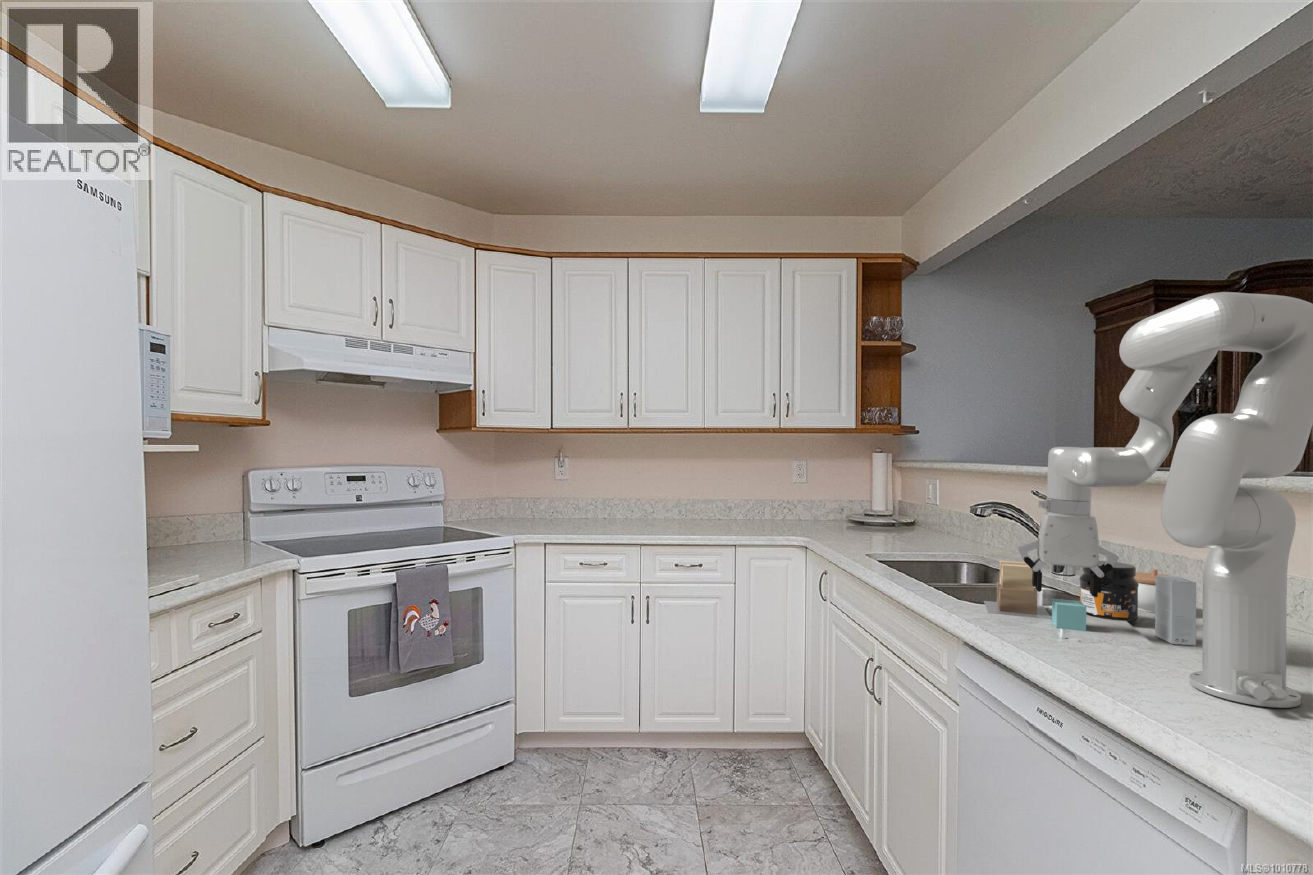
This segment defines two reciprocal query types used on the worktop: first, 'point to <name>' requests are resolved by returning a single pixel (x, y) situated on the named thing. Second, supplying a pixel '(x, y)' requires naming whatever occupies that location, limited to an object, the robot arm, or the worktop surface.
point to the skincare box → (1175, 610)
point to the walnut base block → (1016, 600)
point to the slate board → (994, 609)
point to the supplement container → (1112, 594)
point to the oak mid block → (1015, 575)
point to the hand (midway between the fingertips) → (1065, 592)
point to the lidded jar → (1147, 590)
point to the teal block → (1069, 614)
